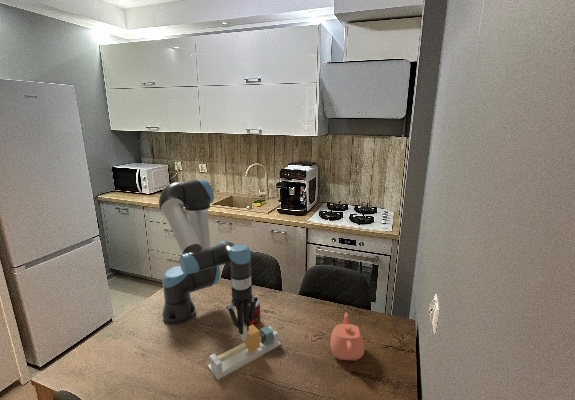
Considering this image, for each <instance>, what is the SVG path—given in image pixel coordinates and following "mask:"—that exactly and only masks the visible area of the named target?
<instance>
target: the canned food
mask: <svg viewBox="0 0 575 400" xmlns="http://www.w3.org/2000/svg"><path fill="white" fill-rule="evenodd" d="M249 304H250V303H249ZM249 323H250V326H251V325H254V326H255V327H256V328H257V327H258V326H259V325H260V324H261V301H260V300H259V299H258V300H257V302H256V306H255V311H254V317H253V321H252V322H249Z"/></svg>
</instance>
